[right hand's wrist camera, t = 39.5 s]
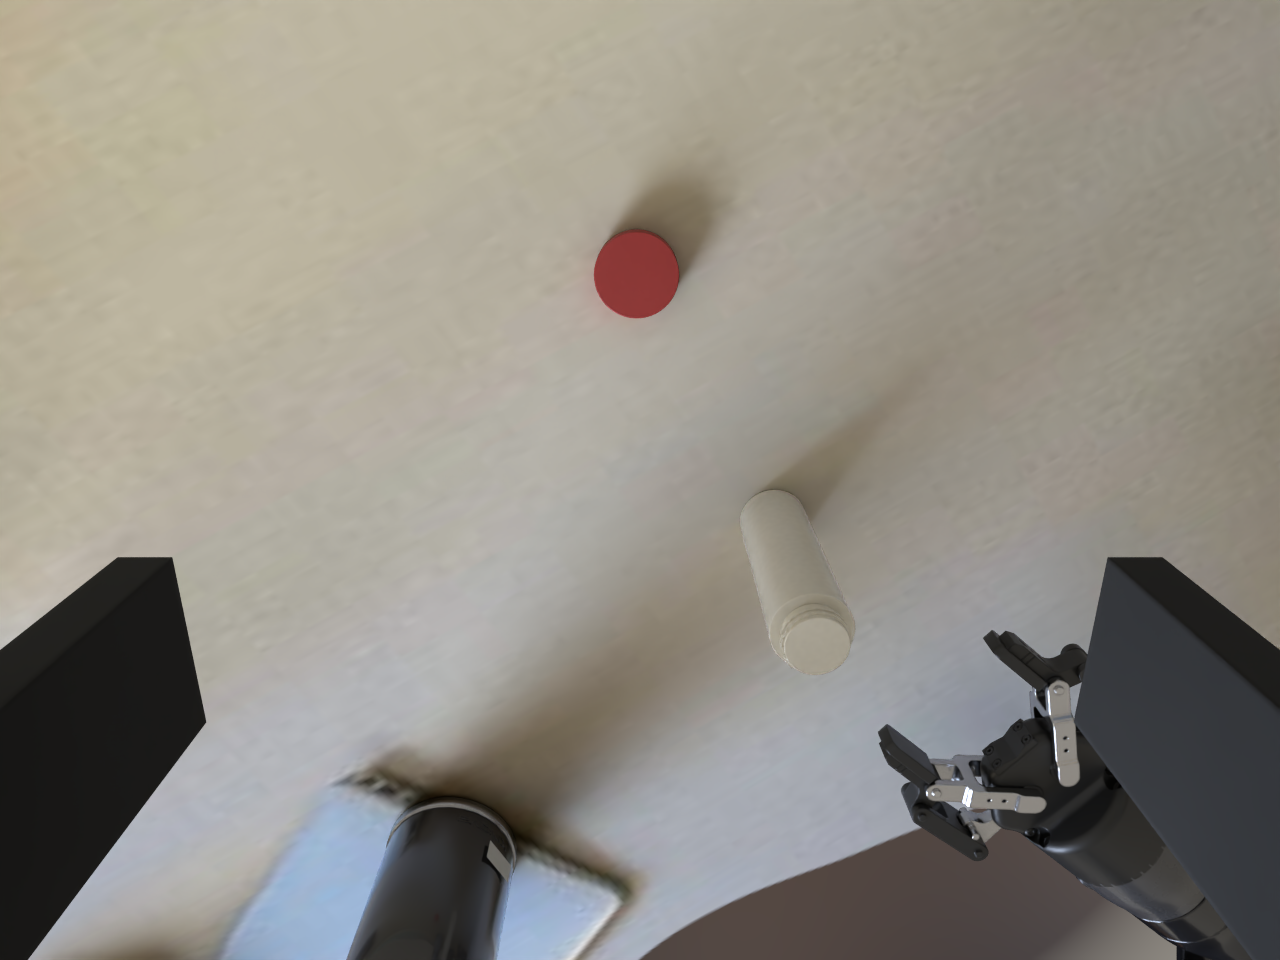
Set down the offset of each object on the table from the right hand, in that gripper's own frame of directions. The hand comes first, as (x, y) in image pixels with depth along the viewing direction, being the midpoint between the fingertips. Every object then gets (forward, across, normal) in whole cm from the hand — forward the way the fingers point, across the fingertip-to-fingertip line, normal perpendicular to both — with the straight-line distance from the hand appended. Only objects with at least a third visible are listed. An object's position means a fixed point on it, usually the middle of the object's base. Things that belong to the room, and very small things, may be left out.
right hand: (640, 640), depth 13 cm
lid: (+39, 0, 0) cm, 39 cm away
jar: (+41, +8, -16) cm, 44 cm away
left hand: (+33, +17, -23) cm, 44 cm away
